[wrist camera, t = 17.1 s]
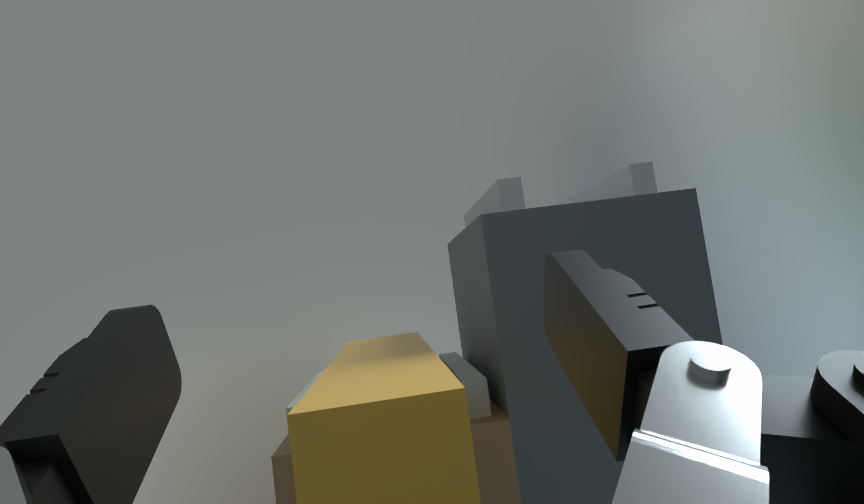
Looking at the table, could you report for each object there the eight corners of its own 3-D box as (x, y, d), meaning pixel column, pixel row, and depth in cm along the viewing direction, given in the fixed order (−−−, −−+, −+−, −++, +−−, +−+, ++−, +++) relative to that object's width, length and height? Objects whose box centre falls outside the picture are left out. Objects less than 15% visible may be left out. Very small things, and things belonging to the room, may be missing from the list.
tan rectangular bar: (483, 522, 12) (464, 387, 12) (302, 555, 11) (286, 414, 12) (423, 383, 31) (417, 332, 31) (354, 394, 30) (348, 341, 30)
